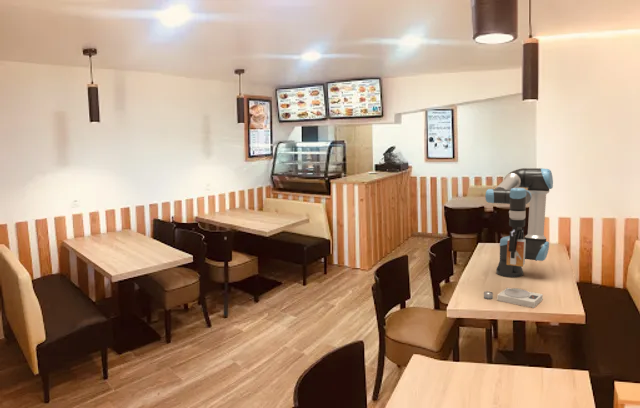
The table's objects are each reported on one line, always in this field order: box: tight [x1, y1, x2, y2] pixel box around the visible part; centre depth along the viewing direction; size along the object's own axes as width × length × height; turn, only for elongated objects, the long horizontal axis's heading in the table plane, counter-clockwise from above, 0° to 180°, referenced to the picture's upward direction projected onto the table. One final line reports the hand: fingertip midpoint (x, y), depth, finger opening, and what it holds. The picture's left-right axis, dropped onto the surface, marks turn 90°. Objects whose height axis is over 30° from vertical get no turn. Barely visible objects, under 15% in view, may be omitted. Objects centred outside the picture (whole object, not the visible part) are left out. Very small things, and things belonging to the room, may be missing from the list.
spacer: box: [483, 290, 494, 300], centre depth 239 cm, size 4×4×3 cm
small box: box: [506, 238, 526, 268], centre depth 233 cm, size 8×6×13 cm
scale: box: [496, 287, 544, 309], centre depth 235 cm, size 18×14×4 cm
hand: (515, 262), depth 234 cm, fingers closed on small box, 7 cm apart
